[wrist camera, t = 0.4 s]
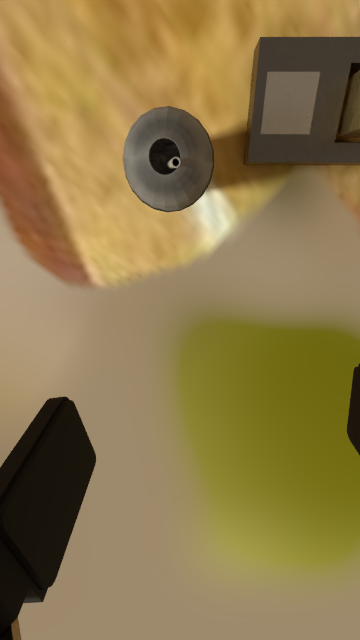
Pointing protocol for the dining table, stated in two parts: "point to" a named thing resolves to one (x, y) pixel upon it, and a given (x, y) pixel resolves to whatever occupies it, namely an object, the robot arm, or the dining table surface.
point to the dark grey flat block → (300, 101)
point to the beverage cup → (168, 159)
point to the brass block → (350, 110)
